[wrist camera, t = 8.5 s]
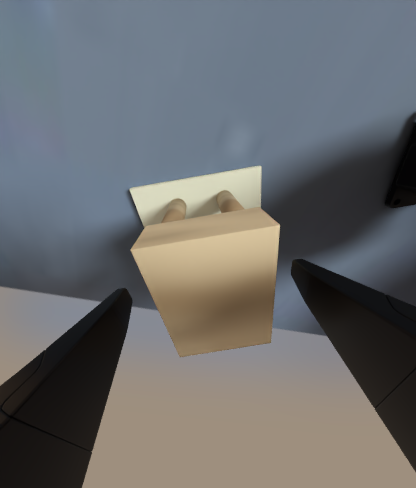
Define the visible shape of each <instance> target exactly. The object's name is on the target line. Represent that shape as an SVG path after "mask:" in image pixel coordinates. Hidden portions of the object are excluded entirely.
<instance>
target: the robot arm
mask: <svg viewBox="0 0 416 488" xmlns="http://www.w3.org/2000/svg"><path fill="white" fill-rule="evenodd" d="M415 204H416V126H415V129H414V131H413V134H412V137H411V139H410V142H409V144H408V147H407V149H406V152H405V154H404V157H403V159H402V162H401V164H400V167H399V169H398V172H397V174H396V177H395V179H394V182H393V184H392V187H391V189H390V192H389V194H388V197H387V199H386V202H385V205H386V206H387V207H391V208H398V207H404V206H409V205H415ZM291 275H292V278H293V280H294V282H295V284H296V286H297V287H298V289H299V291H300V293H301V295H302V297H303V299H304V301H305V303H306V304H307V306H308V307H309V309H310V310H311V312H312V314H313V315H314V317H315V318H316V320H317V321H318V323H319V324H320V326H321V327H322V329H323V330H324V332H325V333H326V335H327V337H328V338H329V340H330V341H331V342H332V344H333V346H334V347H335V349H336V350H337V352H338V353H339V355H340V356H341V358H342V359H343V361H344V362H345V364H346V366H347V367H348V368H349V370H350V372H351V373H352V375H353V376H354V378H355V379H356V381H357V382H358V384H359V385H360V387H361V389H362V390H363V392H364V393H365V395H366V396H367V398H368V399H369V401H370V402H371V404H372V405H373V407H374V408H375V410H376V412H377V413H378V415H379V416H380V418H381V419H382V421H383V423H384V424H385V426H386V427H387V429H388V430H389V432H390V433H391V435H392V436H393V438H394V439H395V441H396V443H397V444H398V445H399V447H400V449H401V450H402V452H403V453H404V455H405V456H406V458H407V459H408V461H409V462H410V464H411V466H412V467H413V469H414V470H415V472H416V307H415V306H413V305H410V304H408V303H405V302H403V301H401V300H398V299H396V298H393V297H391V296H389V295H385V294H384V293H381V292H379V291H377V290H374V289H372V288H370V287H367V286H365V285H363V284H360V283H358V282H355V281H353V280H351V279H348V278H346V277H344V276H341V275H339V274H336V273H334V272H332V271H329V270H327V269H325V268H322V267H320V266H317V265H315V264H313V263H310V262H308V261H306V260H303V259H295V260H293V261H292V267H291ZM131 307H132V298H131V296H130V294H129V292H128V290H127V289H126V288H121V289H117V290H116V291H115V292H113V293H112V294H111V295H110V296H109V297H107V298H106V299H105V300H104V301H103V302H101V303H100V304H99V305H98V306H97V307H96V308H94V309H93V310H92V311H91V312H90V313H88V314H87V315H86V316H85V317H84V318H82V319H81V320H80V321H79V322H78V323H76V324H75V325H74V326H73V327H72V328H70V329H69V330H68V331H67V332H66V333H64V334H63V335H62V336H61V337H60V338H59V339H57V340H56V341H55V342H54V343H53V344H51V345H50V346H49V347H48V348H47V349H46V350H44V351H43V352H42V353H40V355H38V356H37V357H36V358H34V359H33V360H32V361H31V362H30V363H28V364H27V365H26V366H25V367H24V368H22V369H21V370H20V371H19V372H17V373H16V374H15V375H14V376H12V377H11V378H10V379H8V380H7V381H6V382H5V383H3V384H2V385H1V386H0V488H82V485H83V482H84V478H85V475H86V472H87V468H88V464H89V461H90V458H91V454H92V452H91V451H92V450H93V447H94V443H95V440H96V437H97V433H98V430H99V426H100V423H101V419H102V416H103V412H104V409H105V406H106V402H107V399H108V395H109V391H110V388H111V385H112V381H113V378H114V374H115V371H116V368H117V364H118V361H119V357H120V354H121V350H122V347H123V343H124V340H125V337H126V333H127V329H128V324H129V318H130V313H131Z"/></svg>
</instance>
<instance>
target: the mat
mask: <svg viewBox="0 0 416 488" xmlns="http://www.w3.org/2000/svg"><path fill="white" fill-rule="evenodd" d="M223 190H227V191H229V192H231V194H232V195H233V196H234V197H235V198H236V199H237V201H238V202H239V203H240V204H241V205H242V206H243V208H244V209H249V208H255V207H260V208H261V166H254V167H248V168H242V169H236V170H231V171H225V172H219V173H213V174H208V175H202V176H196V177H190V178H185V179H179V180H173V181H167V182H162V183H156V184H150V185H144V186H139V187H133V188H130V192H131V195H132V197H133V200H134V203H135V205H136V208H137V210H138V213H139V216H140V218H141V221H142V223H143V226H144V228H145V227H146V226H149V225H154V224H160V223H161V222H162V220H163V218H164V216H165V214H166V211H167V209H168V207H169V205H170V203H171V201H172V200H173V199H176V198H180V199H182V200H184V201H185V203H186V206H187V208H186V215H185V219H190V218H196V217H202V216H208V215H214V214H220V213H221V211H220V208H219V206H218V204H217V201H216V197H217V195H218V193H219V192H221V191H223Z"/></svg>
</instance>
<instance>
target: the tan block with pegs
mask: <svg viewBox="0 0 416 488" xmlns="http://www.w3.org/2000/svg"><path fill="white" fill-rule="evenodd" d="M216 201H217V204H218V206H219V208H220V211H221V213H220V214H214V215H208V216H202V217H196V218H190V219H185V215H186V208H187V206H186V203H185V201H184V200H182V199H180V198H176V199H173V200H172V201H171V203H170V205H169V207H168V209H167V211H166V214H165V216H164V218H163V220H162V222H161V223H160V224H154V225H149V226H146V227H145V228H144V230H143V231H142V233H141V234H140V236H139V238H138V239H137V241H136V242H135V244H134V245H133V247H132V248H131V252H132V254H133V256H134V259H135V261H136V263H137V265H138V267H139V269H140V272H141V274H142V276H143V278H144V280H145V283H146V285H147V287H148V289H149V291H150V293H151V296H152V298H153V300H154V302H155V304H156V306H157V309H158V311H159V313H160V315H161V317H162V319H163V321H164V323H165V326H166V328H167V330H168V332H169V335H170V337H171V339H172V341H173V343H174V345H175V348H176V350H177V352H178V354H179V356H180V357H184V356H190V355H197V354H203V353H209V352H216V351H222V350H229V349H235V348H241V347H247V346H254V345H260V344H267V343H271V334H272V321H273V309H274V296H275V283H276V270H277V258H278V245H279V232H280V225H279V224H278V223H277V222H276V221H275V220H274V219H273V218H271V217H270V216H269V215H268V214H267V213H266V212H265V211H263V210H262V209H261V208H260V207H255V208H249V209H244V208H243V206H242V205H241V204H240V203H239V202H238V201H237V199H236V198H235V197H234V196H233V195H232V194H231V192H229V191H227V190H223V191H221V192H219V193H218V195H217V197H216Z"/></svg>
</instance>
